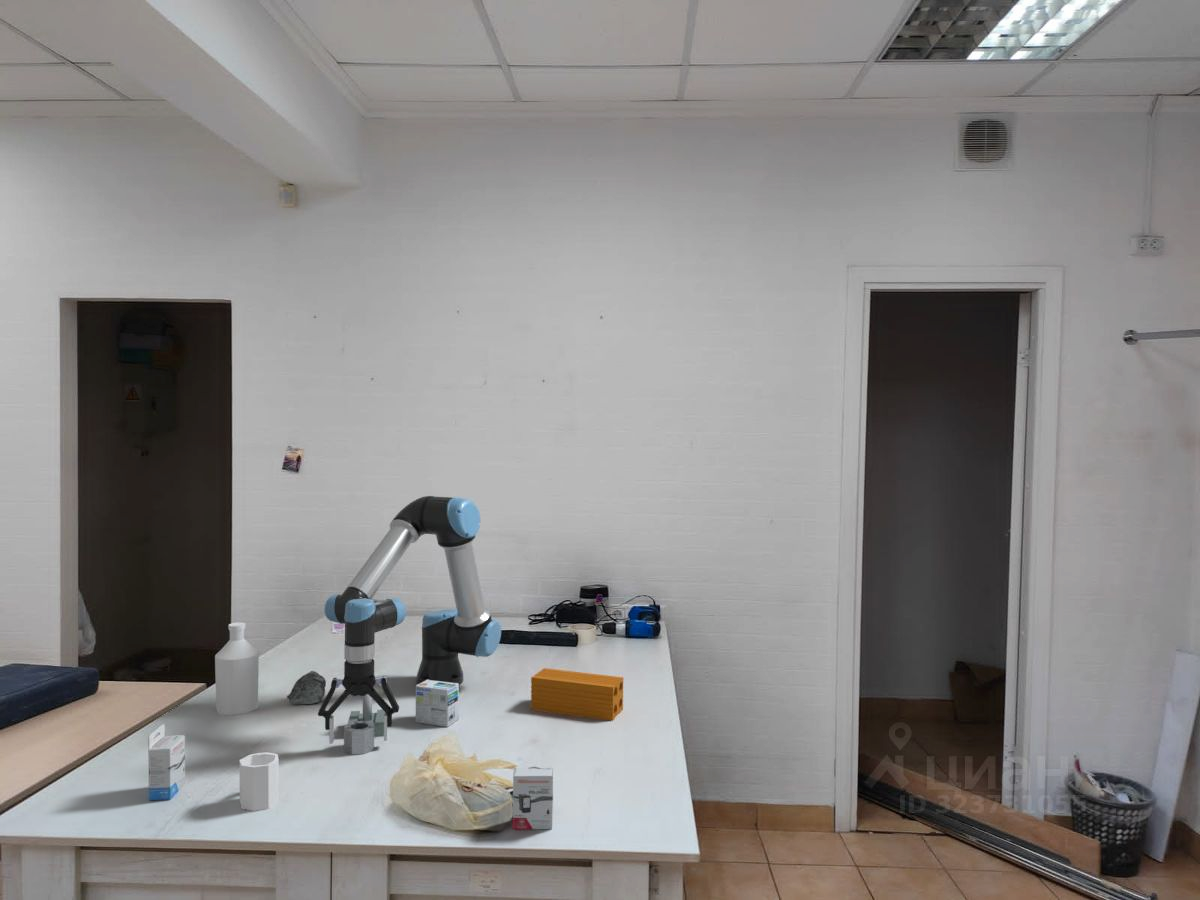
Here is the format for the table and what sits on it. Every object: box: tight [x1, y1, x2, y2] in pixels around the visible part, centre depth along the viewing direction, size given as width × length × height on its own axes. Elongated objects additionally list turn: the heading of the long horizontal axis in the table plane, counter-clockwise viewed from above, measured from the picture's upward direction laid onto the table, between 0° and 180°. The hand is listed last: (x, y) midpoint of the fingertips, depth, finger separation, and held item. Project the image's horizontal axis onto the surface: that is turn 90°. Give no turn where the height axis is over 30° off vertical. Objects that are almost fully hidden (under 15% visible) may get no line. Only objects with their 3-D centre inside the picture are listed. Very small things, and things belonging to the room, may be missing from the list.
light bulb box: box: [415, 680, 460, 728], centre depth 241 cm, size 11×7×11 cm, turn 71°
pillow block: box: [347, 694, 385, 737], centre depth 233 cm, size 10×10×10 cm
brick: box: [530, 667, 624, 722], centre depth 251 cm, size 26×10×10 cm, turn 71°
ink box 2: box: [512, 765, 554, 831], centre depth 181 cm, size 9×5×12 cm, turn 93°
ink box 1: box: [147, 723, 186, 801], centre depth 194 cm, size 9×5×15 cm, turn 5°
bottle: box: [214, 621, 260, 716], centre depth 249 cm, size 12×12×25 cm
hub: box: [343, 721, 375, 756], centre depth 220 cm, size 7×7×6 cm
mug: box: [239, 751, 280, 812], centre depth 191 cm, size 12×9×10 cm
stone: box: [286, 670, 327, 706], centre depth 256 cm, size 10×10×10 cm
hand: (358, 740), depth 220 cm, fingers open, 13 cm apart
